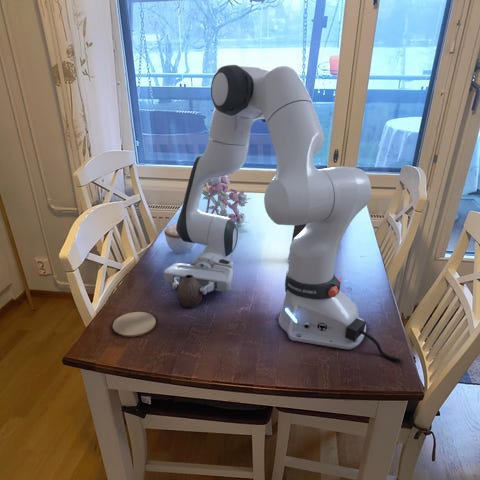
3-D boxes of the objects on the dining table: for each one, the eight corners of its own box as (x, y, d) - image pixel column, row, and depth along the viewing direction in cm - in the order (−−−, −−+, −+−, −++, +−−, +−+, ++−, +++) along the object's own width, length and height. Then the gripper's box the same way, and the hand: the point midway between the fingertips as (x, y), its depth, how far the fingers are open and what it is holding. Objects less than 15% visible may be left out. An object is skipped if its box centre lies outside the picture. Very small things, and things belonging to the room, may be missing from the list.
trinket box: (163, 246, 153) (161, 221, 148) (192, 242, 156) (190, 217, 151) (170, 258, 145) (167, 232, 140) (200, 253, 148) (199, 228, 143)
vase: (199, 311, 116) (197, 283, 111) (175, 309, 117) (172, 281, 112) (205, 299, 122) (204, 271, 117) (182, 296, 123) (180, 269, 118)
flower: (228, 240, 154) (247, 171, 149) (175, 224, 161) (191, 157, 156) (246, 244, 173) (263, 183, 168) (198, 230, 179) (214, 170, 175)
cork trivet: (164, 319, 113) (164, 318, 112) (138, 341, 104) (137, 339, 104) (131, 309, 117) (131, 308, 117) (103, 329, 109) (103, 328, 108)
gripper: (173, 254, 128) (152, 274, 117) (238, 263, 123) (222, 285, 112) (175, 273, 131) (155, 294, 120) (238, 282, 126) (223, 305, 115)
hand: (188, 290), depth 116 cm, fingers closed on vase, 7 cm apart
